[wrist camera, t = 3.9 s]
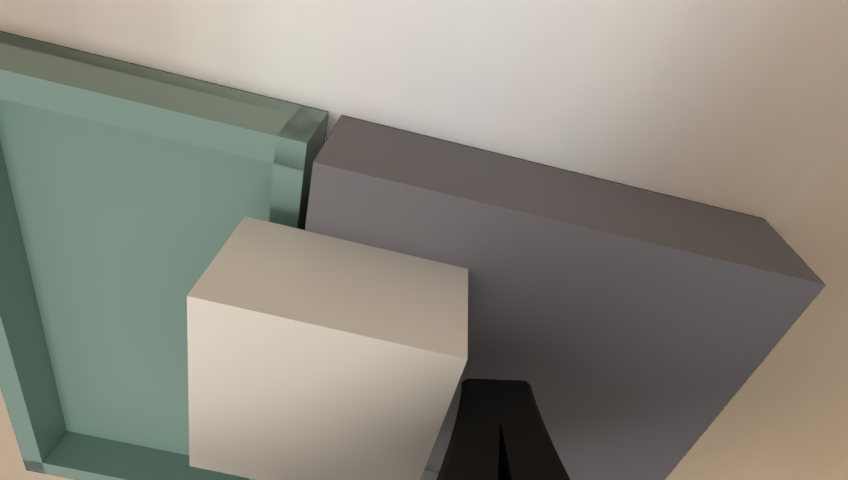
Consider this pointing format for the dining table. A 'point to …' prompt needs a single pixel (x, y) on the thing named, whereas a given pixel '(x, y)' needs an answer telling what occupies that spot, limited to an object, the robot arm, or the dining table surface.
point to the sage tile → (429, 475)
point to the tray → (123, 245)
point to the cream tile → (321, 357)
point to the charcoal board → (575, 288)
